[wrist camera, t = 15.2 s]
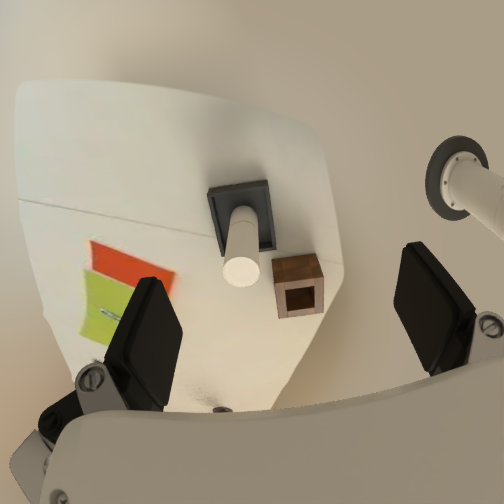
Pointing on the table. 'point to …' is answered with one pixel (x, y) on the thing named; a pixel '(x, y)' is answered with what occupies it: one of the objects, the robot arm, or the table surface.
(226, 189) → the tray
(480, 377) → the robot arm
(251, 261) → the tube
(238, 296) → the table surface
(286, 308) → the box
